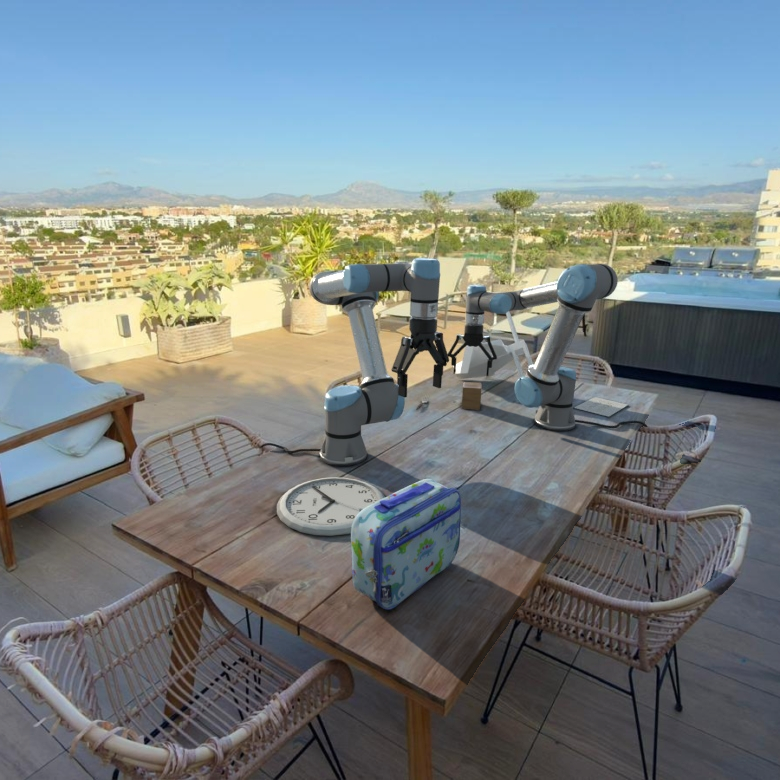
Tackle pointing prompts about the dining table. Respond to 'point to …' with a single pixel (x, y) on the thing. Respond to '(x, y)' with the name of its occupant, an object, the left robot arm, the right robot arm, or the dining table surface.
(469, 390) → the brown block
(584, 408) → the invitation card
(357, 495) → the wall clock
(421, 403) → the fork
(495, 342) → the white plastic object
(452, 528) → the lunch box
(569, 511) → the dining table surface
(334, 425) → the left robot arm
